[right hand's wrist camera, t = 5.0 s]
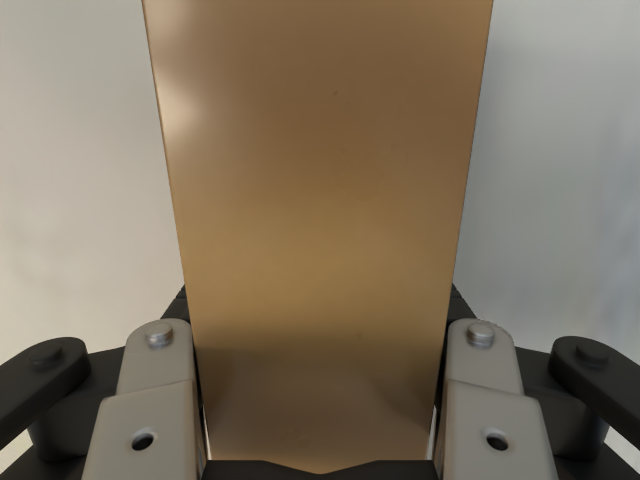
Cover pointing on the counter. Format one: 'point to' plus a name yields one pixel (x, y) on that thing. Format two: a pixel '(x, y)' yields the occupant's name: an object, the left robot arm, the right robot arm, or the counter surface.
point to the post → (318, 212)
